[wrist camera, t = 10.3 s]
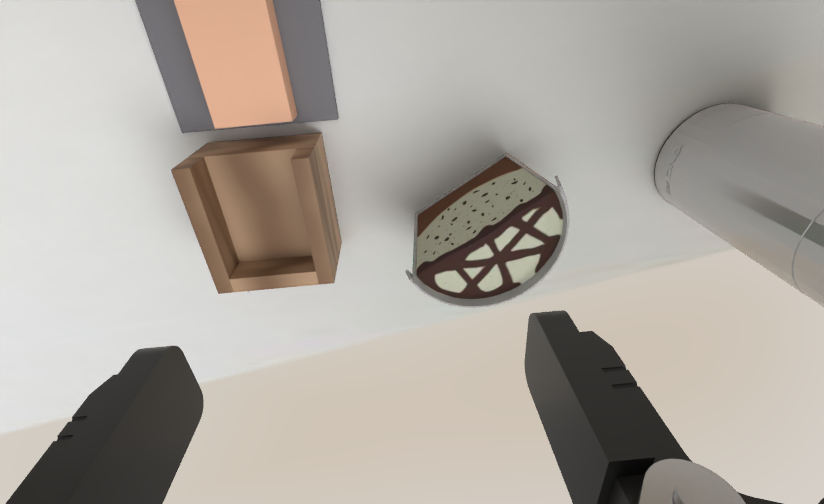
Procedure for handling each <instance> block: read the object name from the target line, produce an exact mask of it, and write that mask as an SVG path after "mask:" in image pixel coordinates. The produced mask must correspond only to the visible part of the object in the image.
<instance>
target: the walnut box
mask: <svg viewBox="0 0 824 504" xmlns="http://www.w3.org/2000/svg"><path fill="white" fill-rule="evenodd" d="M171 171H172V174H173V177H174V179H175V182H176V184H177V187H178V190H179V192H180V195H181V198H182V200H183V203H184V205H185V208H186V211H187V213H188V216H189V218H190V221H191V224H192V226H193V229H194V231H195V234H196V237H197V239H198V242H199V244H200V247H201V250H202V252H203V255H204V257H205V260H206V263H207V265H208V268H209V270H210V273H211V276H212V278H213V281H214V283H215V286H216V289H217V291H218V294H220V293H231V292H242V291H253V290H263V289H274V288H285V287H296V286H307V285H318V284H329V283H334V281H335V276H336V270H337V265H338V259H339V254H340V249H341V243H342V242H341V237H340V231H339V226H338V220H337V215H336V209H335V204H334V198H333V193H332V187H331V182H330V176H329V171H328V165H327V160H326V154H325V149H324V143H323V137H322V133H314V134H302V135H291V136H279V137H268V138H256V139H245V140H233V141H222V142H210V143H207V144H205V145H204V146H203V147H201V148H200V149H199V150H197V151H196V152H195V153H193V154H192V155H191V156H189V157H188V158H187V159H185V160H184V161H182V162H181V163H180V164H178V165H177V166H176V167H174V168H173V169H172V170H171Z"/></svg>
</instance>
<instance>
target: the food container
mask: <svg viewBox="0 0 824 504" xmlns="http://www.w3.org/2000/svg"><path fill="white" fill-rule="evenodd" d="M555 178H556V181H557V184H558V186H557V187H556V186H555V185H553V184H552V183H550V182H549V181H547V180H546V179H544V178H543V177H541V176H540V175H538V174H537V173H535V172H534V171H532V170H531V169H529V168H528V167H527V166H525V165H524V164H522V163H521V162H519V161H518V160H516V159H515V158H513V157H512V156H510V155H509V154H507V153H505V154H504V155H502V156H501V157H499V158H498V159H496V160H495V161H493V162H492V163H490V164H489V165H487V166H486V167H485V168H483V169H482V170H480V171H479V172H477V173H476V174H474V175H473V176H471V177H470V178H468V179H467V180H465V181H464V182H462V183H461V184H459V185H458V186H456V187H455V188H453V189H452V190H450V191H449V192H447V193H446V194H444V195H443V196H441V197H440V198H438V199H437V200H435V201H434V202H432V203H431V204H429V205H428V206H426V207H425V208H423V209H422V210H420V211H419V212H417V213H416V214H415V228H414V251H413V274H411V273H410V272H409V271H408V270H406V273H407V276H408V278H409V280H410V281H411V282H412V283H413V284H414V285H416V286H417V287H418V288H419V289H420V290H421V291H422V292H424V293H425V294H427V295H428V296H430V297H432V298H434V299H436V300H438V301H440V302H443V303H446V304H449V305H453V306H459V307H472V308H476V307H487V306H492V305H497V304H501V303H503V302H506V301H509V300H512V299H514V298H516V297H518V296H520V295H522V294H524V293H525V292H527V291H528V290H530V289H531V288H533V287H534V286H535V285H536V284H538V283H539V282H540V281H541V280H542V279H543V278H544V277H545V276H546V275H547V274H548V273H549V272H550V271H551V269H552V268H553V266H554V265H555V264H556V262H557V261H558V259H559V257H560V255H561V253H562V251H563V248H564V245H565V242H566V239H567V233H568V226H569V209H568V204H567V200H566V196H565V193H564V191H563V188H562V186H561V183H560V181H559V179H558V176H555Z"/></svg>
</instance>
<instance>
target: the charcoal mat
mask: <svg viewBox="0 0 824 504" xmlns="http://www.w3.org/2000/svg"><path fill="white" fill-rule="evenodd" d="M135 1H136V4H137V7H138V9H139V12H140V15H141V18H142V21H143V24H144V26H145V29H146V32H147V35H148V38H149V41H150V43H151V46H152V49H153V52H154V55H155V58H156V60H157V63H158V66H159V69H160V72H161V75H162V77H163V80H164V83H165V86H166V89H167V92H168V94H169V97H170V100H171V103H172V106H173V109H174V111H175V114H176V117H177V120H178V123H179V126H180V128H181V131H182V133H187V132H198V131H210V130H222V129H233V128H245V127H256V126H268V125H279V124H291V123H303V122H314V121H326V120H337V119H338V112H337V106H336V99H335V93H334V87H333V80H332V74H331V68H330V61H329V55H328V49H327V42H326V36H325V30H324V23H323V17H322V11H321V4H320V0H273V5H274V9H275V14H276V18H277V23H278V28H279V32H280V37H281V41H282V46H283V51H284V55H285V60H286V64H287V69H288V74H289V78H290V83H291V87H292V92H293V97H294V101H295V106H296V111H297V117H296V118H295V119H294V120H293V121H291V122H280V123H270V124H260V125H249V126H239V127H229V128H218V129H215V127H214V124H213V121H212V118H211V115H210V112H209V108H208V105H207V102H206V99H205V96H204V93H203V90H202V87H201V84H200V80H199V77H198V74H197V71H196V68H195V65H194V62H193V59H192V56H191V52H190V49H189V46H188V43H187V40H186V37H185V34H184V31H183V28H182V24H181V21H180V18H179V15H178V12H177V9H176V6H175V3H174V0H135Z"/></svg>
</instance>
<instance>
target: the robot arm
mask: <svg viewBox="0 0 824 504" xmlns="http://www.w3.org/2000/svg"><path fill="white" fill-rule="evenodd" d="M655 183H656V186H657V189H658V191H659V193H660V194H661V196H662V197H663V198H664V199H665V200H666V201H667V202H669V203H670V204H672V205H673V206H675V207H676V208H678V209H679V210H681V211H682V212H683V213H685V214H686V215H688V216H689V217H691V218H692V219H694V220H695V221H696V222H698V223H699V224H701V225H702V226H704V227H705V228H707V229H708V230H710V231H711V232H713V233H714V234H716V235H717V236H719V237H720V238H722V239H723V240H725V241H726V242H728V243H729V244H731V245H732V246H733V247H735V248H736V249H738V250H739V251H741V252H742V253H744V254H745V255H747V256H748V257H750V258H751V259H753V260H754V261H756V262H757V263H759V264H760V265H762V266H763V267H765V268H766V269H768V270H769V271H771V272H772V273H774V274H775V275H777V276H778V277H780V278H781V279H783V280H784V281H786V282H787V283H789V284H790V285H791V286H793V287H795V288H796V289H797V290H799V291H800V292H802V293H803V294H805V295H807V296H808V297H810V298H811V299H813V300H814V301H816V302H818V303H819V304H820V305H822V306H823V307H824V126H820V125H816V124H812V123H808V122H805V121H801V120H797V119H793V118H789V117H786V116H783V115H779V114H775V113H771V112H767V111H764V110H760V109H756V108H752V107H748V106H744V105H739V104H733V103H730V104H719V105H716V106H712V107H709V108H706V109H704V110H702V111H700V112H698V113H696V114H694V115H693V116H692V117H690V118H689V119H687V120H686V121H684V122H683V123H682V124H681V125H680V126H679V127H678V128H677V129H676V130H675V131H674V132H673V133H672V135H671V136H670V137H669V138H668V140H667V141H666V143H665V144H664V146H663V148H662V150H661V152H660V154H659V157H658V160H657V163H656V168H655ZM528 322H529V323H528V332H527V343H526V354H525V373H526V379H527V383H528V387H529V390H530V393H531V395H532V398H533V400H534V403H535V406H536V408H537V411H538V413H539V416H540V419H541V421H542V424H543V426H544V429H545V432H546V434H547V437H548V439H549V442H550V444H551V447H552V450H553V453H554V455H555V457H556V460H557V463H558V466H559V468H560V470H561V473H562V476H563V479H564V481H565V484H566V486H567V489H568V491H569V494H570V497H571V499H572V502H573V504H782V503H777V502H773V501H768V500H764V499H759V498H754V497H750V496H747V495H744V494H741V493H738V492H737V491H736V490H735V489H734V488H733V487H732V486H731V485H730V484H729V483H727V482H726V481H725V480H724V479H723V478H721V477H720V476H719V475H717V474H716V473H714V472H712V471H711V470H709V469H707V468H705V467H703V466H701V465H699V464H696V463H693V462H692V461H691V460H690V459H689V458H688V456H687V455H686V454H685V452H684V451H683V450H682V448H681V447H680V445H679V444H678V442H677V441H676V439H675V438H674V436H673V435H672V433H671V432H670V431H669V429H668V428H667V426H666V425H665V423H664V422H663V420H662V419H661V417H660V416H659V415H658V413H657V412H656V410H655V408H654V407H653V406H652V404H651V403H650V401H649V400H648V398H647V397H646V395H645V394H644V392H643V391H642V389H641V388H640V387H638V386H637V382H636V381H635V379H634V378H633V376H632V375H631V373H630V372H629V370H626V367H625V364H624V363H623V361H622V360H621V359H620V357H619V356H618V354H617V353H616V351H615V350H614V348H613V347H612V346H611V345H610V344H608V343H607V342H606V341H604V340H603V339H602V338H600V337H599V336H598V335H596V334H595V333H594V332H593V331H587V332H579V331H578V329H577V327H576V326H575V324H574V323H573V321H572V319H571V318H570V316H569V315H568V313H567V312H566V311H552V312H541V313H532V314H530V316H529V321H528ZM202 412H203V395H202V391H201V389H200V387H199V385H198V383H197V380H196V378H195V376H194V374H193V372H192V370H191V368H190V366H189V364H188V362H187V360H186V358H185V356H184V353H183V352H182V350H181V349H180V348H179V347H177V346H166V347H155V348H144V349H139V350H137V351H136V352H135V353H134V354H133V355H132V356H131V357H130V359H129V360H128V362H127V363H126V364H125V366H124V367H123V368H122V370H121V371H120V372H119V374H118V375H113V376H112V377H110V378H109V379H108V380H107V381H106V382H104V383H103V384H102V385H101V386H100V387H98V388H97V389H96V390H95V391H93V392H92V393H91V394H90V395H89V396H88V397H87V399H86V400H85V401H84V402H83V404H82V405H81V406H80V408H79V409H78V410H77V412H76V413H75V414H74V415H73V417H72V422H68V423H67V425H66V426H65V427H64V428H63V430H62V431H61V432H60V434H59V435H58V440H57V441H54V442H53V443H52V444H51V446H50V447H49V448H48V450H47V451H46V452H45V453H44V454H43V456H42V457H41V458H40V460H39V461H38V462H37V464H36V465H35V466H34V468H33V469H32V470H31V471H30V473H29V474H28V475H27V477H26V478H25V479H24V480H23V482H22V483H21V484H20V486H19V487H18V488H17V490H16V491H15V492H14V493H13V495H12V496H11V498H10V499H9V500H8V501H7V503H6V504H162V503H163V501H164V499H165V497H166V494H167V492H168V490H169V488H170V486H171V483H172V481H173V479H174V477H175V474H176V472H177V470H178V468H179V466H180V463H181V461H182V459H183V457H184V454H185V452H186V450H187V448H188V446H189V443H190V441H191V439H192V437H193V435H194V432H195V430H196V428H197V425H198V424H199V421H200V419H201V415H202ZM818 504H824V498H823V499H822V500H821V501H820V502H819V503H818Z"/></svg>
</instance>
